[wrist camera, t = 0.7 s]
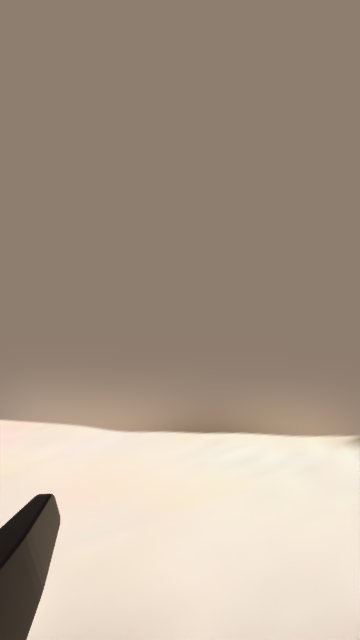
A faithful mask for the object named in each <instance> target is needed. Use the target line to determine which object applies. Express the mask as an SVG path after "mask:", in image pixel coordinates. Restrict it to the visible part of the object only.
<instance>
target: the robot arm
mask: <svg viewBox="0 0 360 640" xmlns="http://www.w3.org/2000/svg"><path fill="white" fill-rule="evenodd" d="M59 526H60V514H59V510H58V507H57V503H56V500H55V497H54V495H53V494H39V495H37V496H35V497H34V498H33V499H32V500H31V501H30V502H29V503H28V504H26V505H25V506H24V507H23V508H22V509H21V510H20V511H19V512H18V513H17V514H15V515H14V516H13V517H12V518H11V519H10V520H9V521H8V522H7V523H6V524H5V525H3V526H2V527H1V528H0V640H26V639H27V636H28V633H29V630H30V627H31V625H32V622H33V619H34V616H35V613H36V610H37V607H38V604H39V602H40V599H41V595H42V592H43V589H44V586H45V582H46V578H47V574H48V570H49V566H50V562H51V558H52V554H53V550H54V546H55V542H56V538H57V534H58V530H59Z"/></svg>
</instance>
